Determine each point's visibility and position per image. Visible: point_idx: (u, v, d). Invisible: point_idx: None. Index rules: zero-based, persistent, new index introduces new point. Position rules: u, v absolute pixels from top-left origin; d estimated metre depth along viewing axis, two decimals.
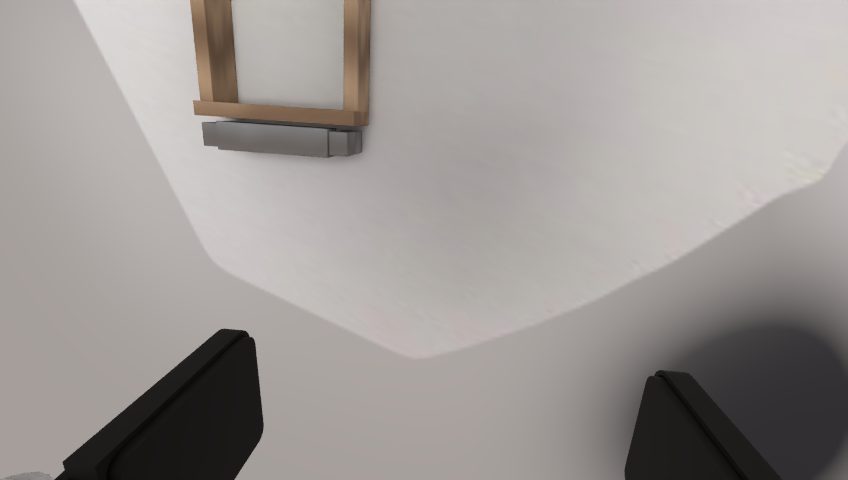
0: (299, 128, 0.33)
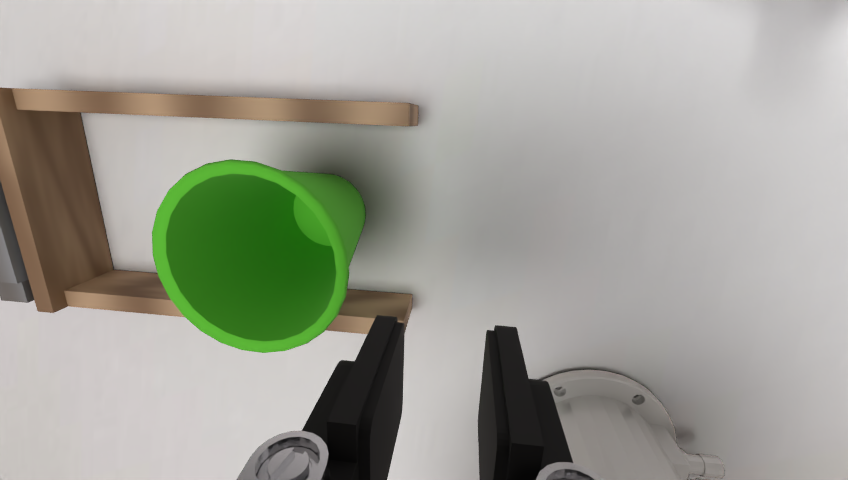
0: (5, 248, 0.25)
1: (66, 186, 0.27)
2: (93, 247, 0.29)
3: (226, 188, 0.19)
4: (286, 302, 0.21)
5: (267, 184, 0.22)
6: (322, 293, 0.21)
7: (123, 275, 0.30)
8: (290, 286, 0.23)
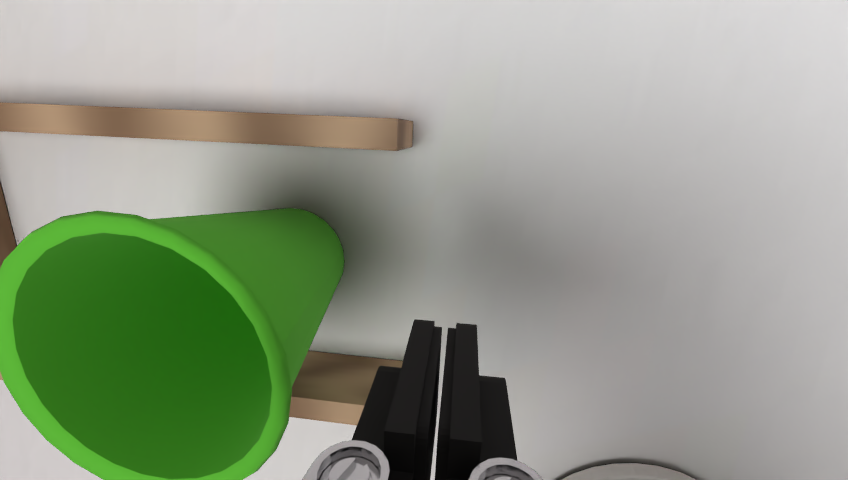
0: None
1: None
2: None
3: (122, 244, 0.13)
4: (220, 399, 0.15)
5: None
6: (270, 388, 0.15)
7: None
8: (232, 369, 0.16)
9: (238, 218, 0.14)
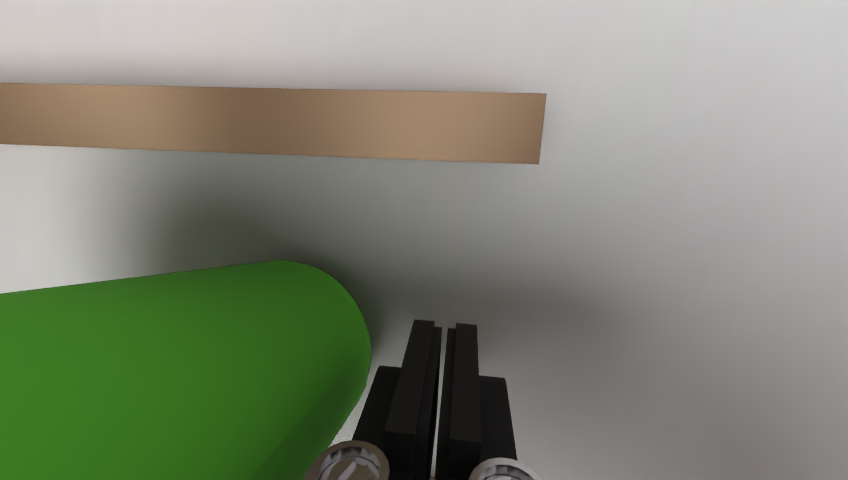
0: None
1: None
2: None
3: None
4: None
5: None
6: None
7: None
8: None
9: (35, 314, 0.06)
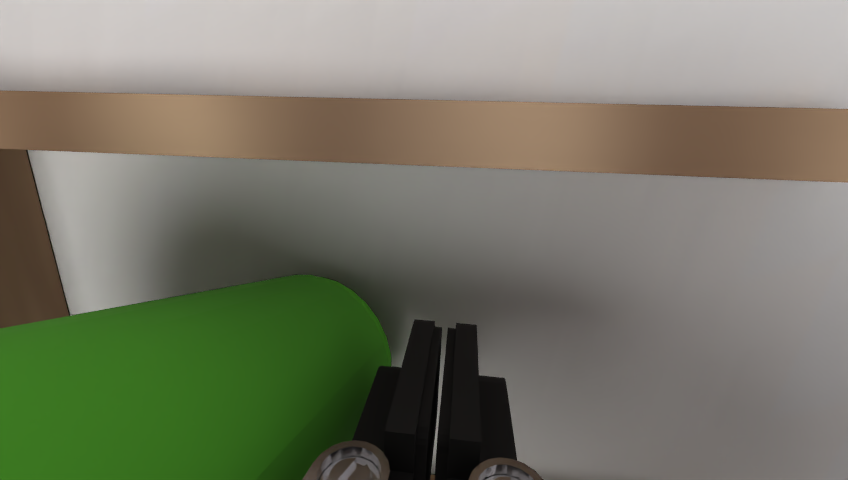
0: None
1: None
2: None
3: None
4: None
5: None
6: None
7: None
8: None
9: (56, 330, 0.06)
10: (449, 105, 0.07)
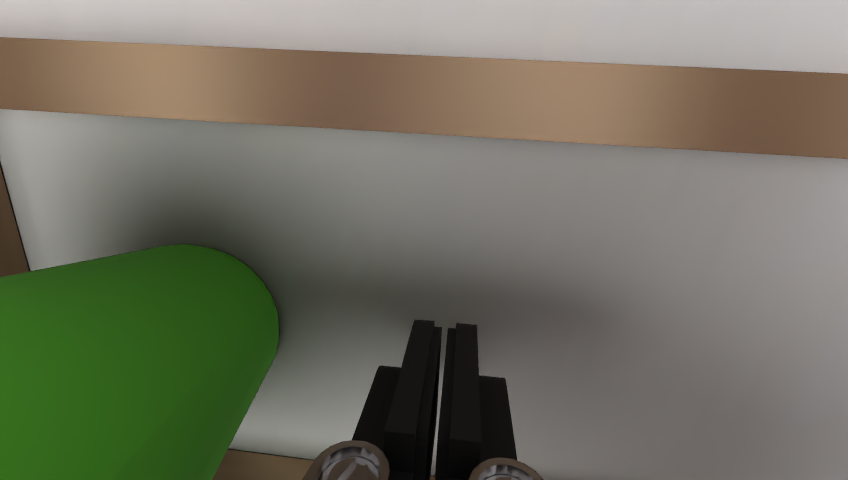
0: None
1: None
2: None
3: None
4: None
5: None
6: None
7: None
8: None
9: None
10: (478, 64, 0.06)
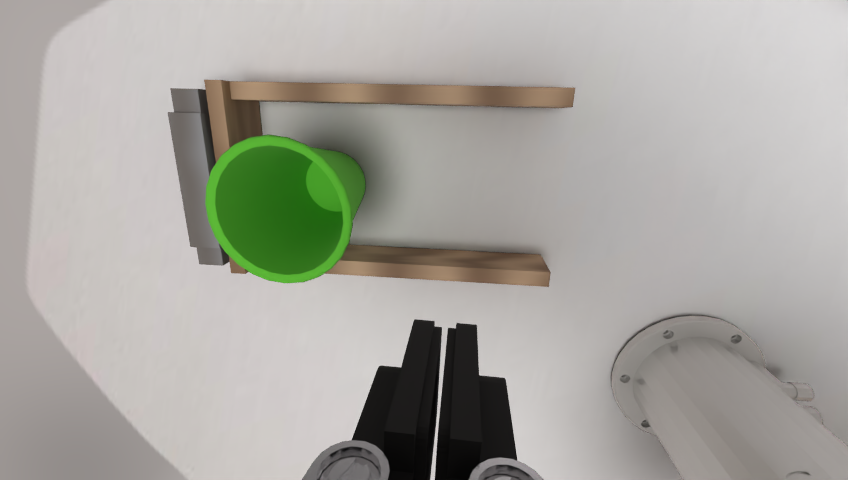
0: None
1: None
2: None
3: (251, 166, 0.25)
4: (312, 250, 0.27)
5: (281, 162, 0.28)
6: (338, 237, 0.27)
7: None
8: (314, 240, 0.28)
9: None
10: (429, 86, 0.27)
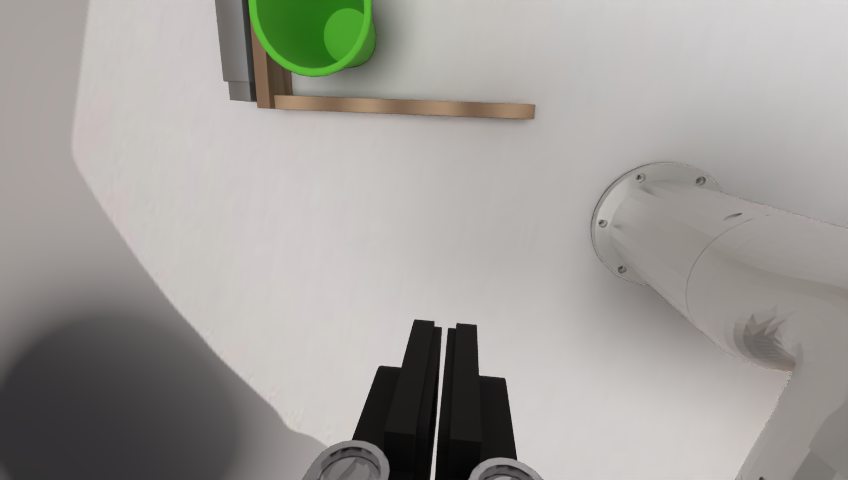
0: (244, 51, 0.34)
1: None
2: (285, 72, 0.38)
3: None
4: None
5: None
6: None
7: None
8: None
9: None
10: None
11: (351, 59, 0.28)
